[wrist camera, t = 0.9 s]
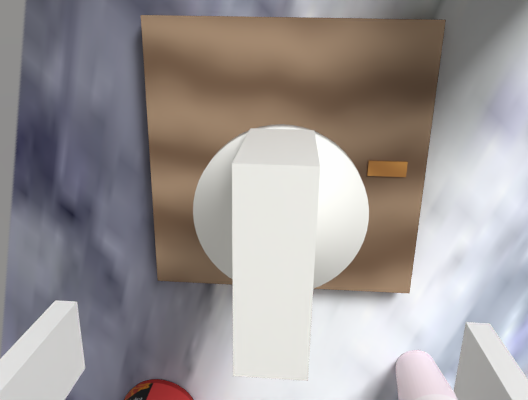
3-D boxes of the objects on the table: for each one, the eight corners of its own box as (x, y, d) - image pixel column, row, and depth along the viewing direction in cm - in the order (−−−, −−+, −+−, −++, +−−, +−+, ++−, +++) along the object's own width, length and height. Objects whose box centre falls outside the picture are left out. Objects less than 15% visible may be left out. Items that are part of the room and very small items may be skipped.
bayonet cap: (195, 121, 27) (148, 160, 18) (372, 126, 26) (407, 169, 18) (201, 299, 31) (163, 399, 22) (356, 307, 30) (378, 413, 22)
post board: (149, 16, 37) (84, 7, 26) (437, 20, 35) (500, 13, 24) (163, 270, 44) (118, 348, 33) (404, 281, 43) (441, 367, 32)
